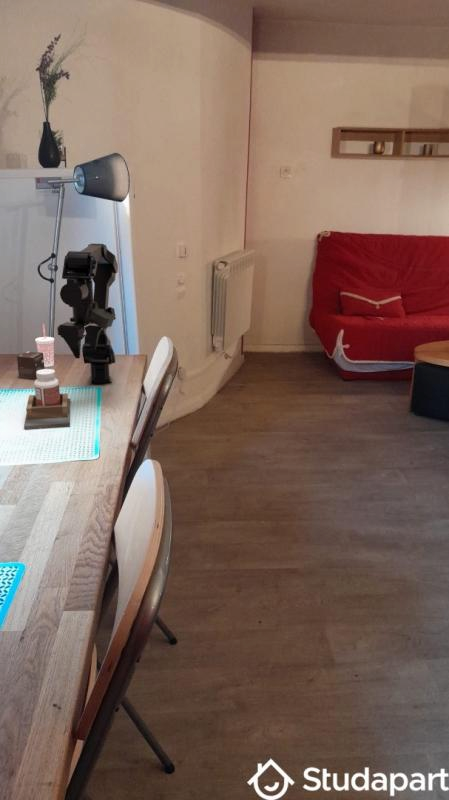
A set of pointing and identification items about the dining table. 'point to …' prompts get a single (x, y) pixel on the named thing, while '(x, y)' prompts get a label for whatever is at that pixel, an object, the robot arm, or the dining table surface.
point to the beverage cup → (46, 348)
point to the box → (30, 364)
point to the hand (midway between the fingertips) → (85, 353)
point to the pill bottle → (47, 388)
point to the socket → (47, 414)
